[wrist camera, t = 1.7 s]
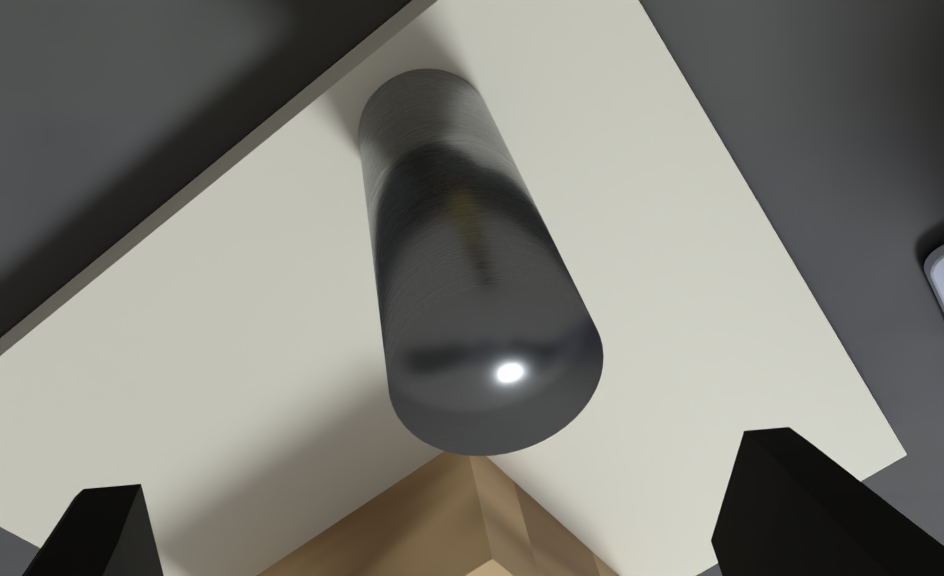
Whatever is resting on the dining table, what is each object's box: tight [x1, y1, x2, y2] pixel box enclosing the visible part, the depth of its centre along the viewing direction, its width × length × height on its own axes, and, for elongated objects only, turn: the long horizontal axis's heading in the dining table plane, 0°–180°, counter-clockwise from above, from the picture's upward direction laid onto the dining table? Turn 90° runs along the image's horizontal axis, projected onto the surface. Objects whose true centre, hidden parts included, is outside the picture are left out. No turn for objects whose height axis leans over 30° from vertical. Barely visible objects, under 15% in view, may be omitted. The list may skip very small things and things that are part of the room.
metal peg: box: [358, 68, 604, 456], centre depth 14 cm, size 3×3×8 cm
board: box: [0, 0, 907, 576], centre depth 23 cm, size 20×20×1 cm
